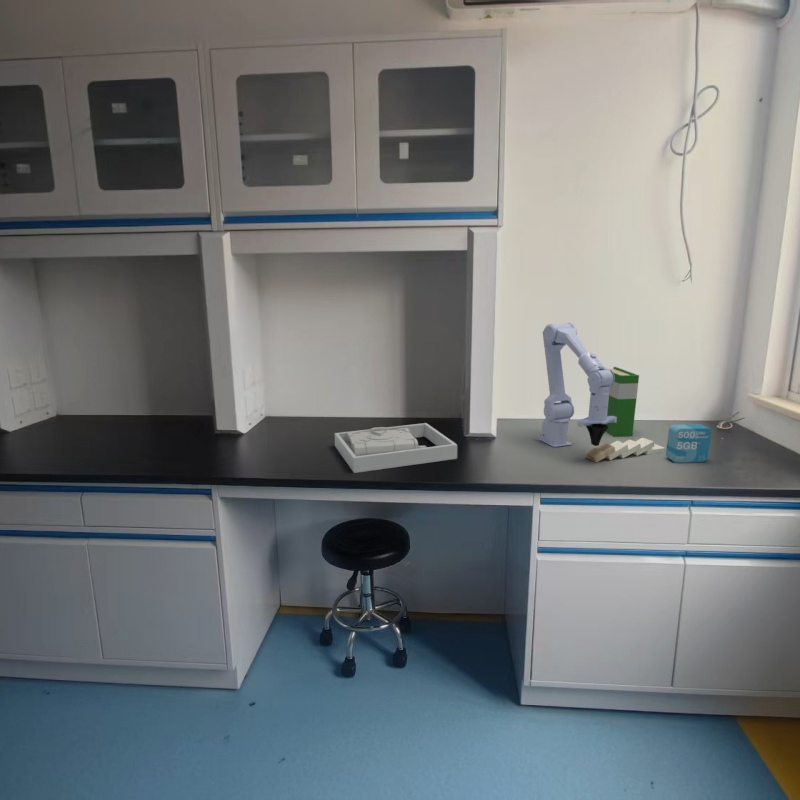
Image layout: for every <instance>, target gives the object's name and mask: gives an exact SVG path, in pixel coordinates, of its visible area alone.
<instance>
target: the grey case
mask: <svg viewBox="0 0 800 800" xmlns="http://www.w3.org/2000/svg"><path fill="white" fill-rule="evenodd" d="M370 429H371V430H370V431H368V432H350V431H346V432H347V438H348V440H350V443H348V447H349V448H350V449H351V450H352V452H353V453H354V454H355V455H356V456H364V455H372V454H380V453H388V452H395V451H403V450H411V449H419V448H427V446H426V445H419V442H418V439H417V437H416V438H414V437H413V436H412V434H411V433H410V431H409V429H408V428H400V429H396V430H386V427H384V426H379V427H371V428H370Z"/></svg>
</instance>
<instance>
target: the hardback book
mask: <svg viewBox="0 0 800 800" xmlns="http://www.w3.org/2000/svg"><path fill="white" fill-rule="evenodd" d="M609 369H610V370H612V372H613V373H614V376H615V381H614V384H613V385H612V386H610V391H609V401H608V411H607V416H615V417H617V422H616V423H613V422H612V423H607V424H605V425H607V426H608V429H607V430H606V431H605V432H604V433H607V434H608V435H610V436H611V437H613V438H616V437H617V438H619V437H621V438H622V437H633V435H634V434H633V433H634V426H635V425H634V424H635V418H636V417H635V414H636V406H637V396H638V389H639V379H640V374H636V373H633V372H631V371H628V370H626V369H623V368H619V367H617V366H613V368H609Z"/></svg>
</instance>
